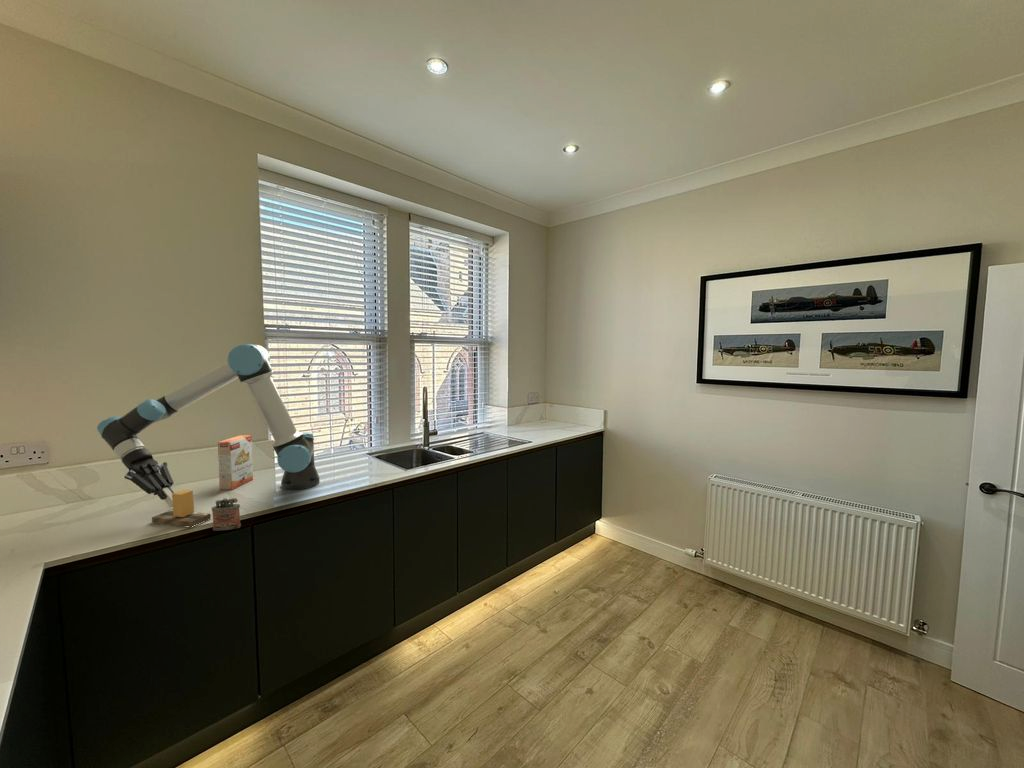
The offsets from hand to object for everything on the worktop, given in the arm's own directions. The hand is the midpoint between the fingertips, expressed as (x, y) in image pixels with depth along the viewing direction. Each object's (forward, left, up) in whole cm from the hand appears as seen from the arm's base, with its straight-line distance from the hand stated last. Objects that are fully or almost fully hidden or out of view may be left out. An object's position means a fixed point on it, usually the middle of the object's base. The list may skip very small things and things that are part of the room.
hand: (174, 504), depth 142 cm
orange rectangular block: (-3, +2, -4) cm, 5 cm away
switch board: (-2, +1, -6) cm, 6 cm away
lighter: (-17, +14, -6) cm, 23 cm away
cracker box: (-14, -36, -6) cm, 39 cm away
